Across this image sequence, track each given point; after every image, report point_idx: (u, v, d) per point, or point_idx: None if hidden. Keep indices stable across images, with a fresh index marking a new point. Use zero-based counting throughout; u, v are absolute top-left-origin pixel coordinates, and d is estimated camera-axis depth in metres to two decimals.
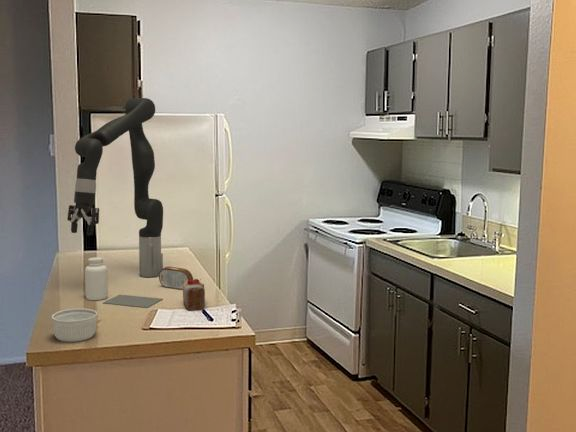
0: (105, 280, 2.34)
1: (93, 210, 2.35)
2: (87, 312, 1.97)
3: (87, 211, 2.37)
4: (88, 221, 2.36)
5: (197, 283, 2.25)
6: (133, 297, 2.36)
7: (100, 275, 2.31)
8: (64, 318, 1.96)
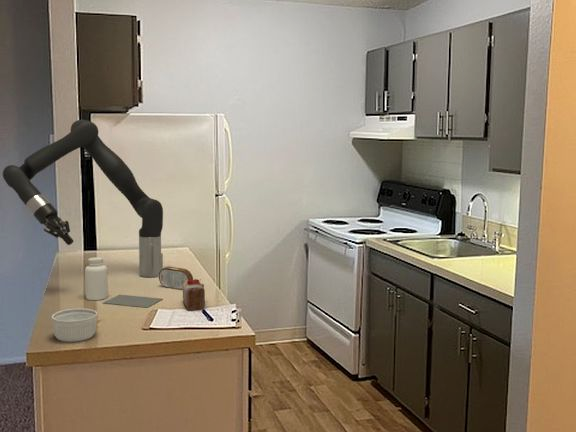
0: (105, 280, 2.34)
1: None
2: (87, 312, 1.97)
3: None
4: None
5: (197, 283, 2.25)
6: (133, 297, 2.36)
7: (100, 275, 2.31)
8: (64, 318, 1.96)
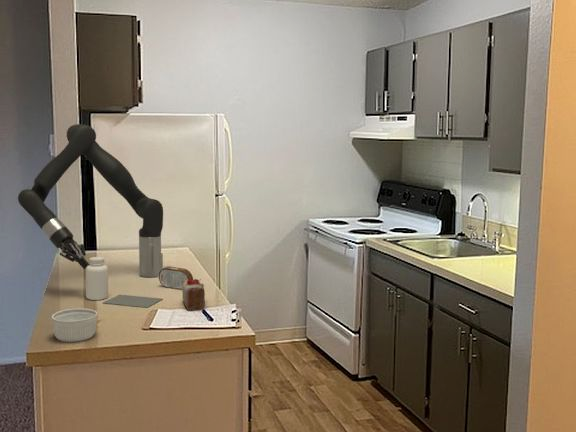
0: (106, 280, 2.33)
1: None
2: (87, 312, 1.97)
3: None
4: None
5: (197, 283, 2.25)
6: (133, 297, 2.36)
7: (101, 275, 2.31)
8: (64, 318, 1.96)
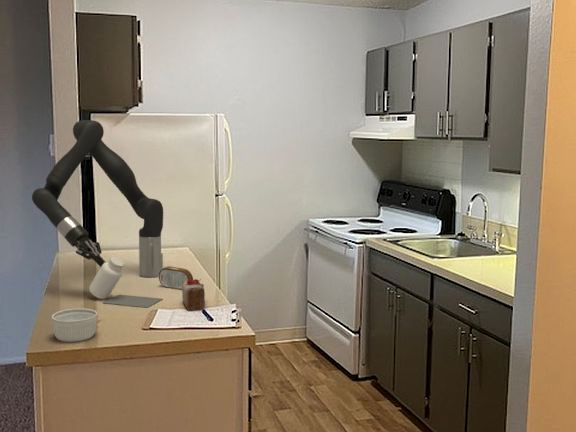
0: (114, 284, 2.33)
1: None
2: (87, 312, 1.97)
3: None
4: None
5: (197, 283, 2.25)
6: (133, 297, 2.36)
7: (113, 279, 2.30)
8: (64, 318, 1.96)
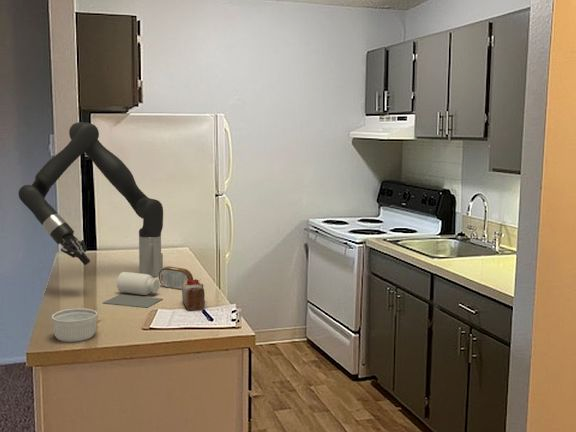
0: (135, 275, 2.40)
1: None
2: (87, 312, 1.97)
3: None
4: None
5: (197, 283, 2.25)
6: (133, 297, 2.36)
7: (143, 274, 2.41)
8: (64, 318, 1.96)
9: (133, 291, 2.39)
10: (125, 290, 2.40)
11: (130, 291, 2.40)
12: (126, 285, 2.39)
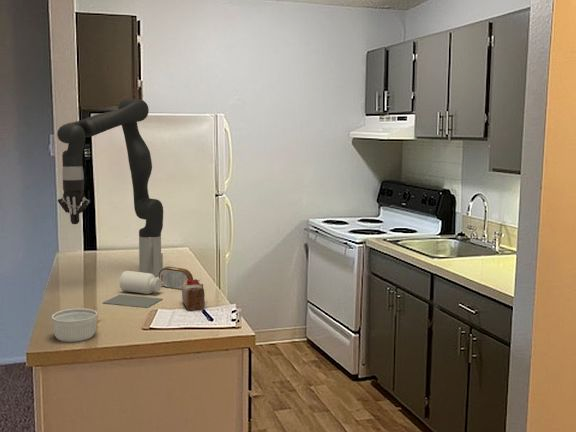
0: (140, 272, 2.43)
1: (85, 203, 2.36)
2: (87, 312, 1.97)
3: (78, 201, 2.37)
4: (74, 210, 2.38)
5: (197, 283, 2.25)
6: (133, 297, 2.36)
7: None
8: (64, 318, 1.96)
9: (135, 286, 2.40)
10: (127, 285, 2.41)
11: (132, 286, 2.41)
12: (129, 279, 2.41)
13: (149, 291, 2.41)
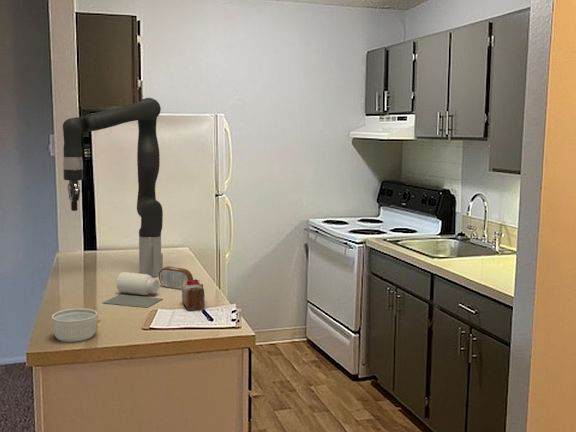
0: (134, 276, 2.40)
1: None
2: (87, 312, 1.97)
3: None
4: None
5: (196, 283, 2.25)
6: (133, 297, 2.36)
7: (143, 274, 2.41)
8: (64, 318, 1.96)
9: (133, 291, 2.39)
10: (125, 290, 2.40)
11: (130, 291, 2.40)
12: (125, 286, 2.39)
13: (148, 293, 2.40)
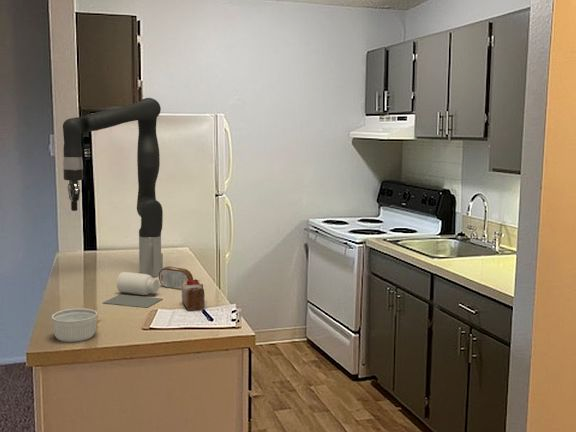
0: (135, 276, 2.40)
1: None
2: (87, 312, 1.97)
3: None
4: None
5: (196, 283, 2.25)
6: (133, 297, 2.36)
7: (143, 274, 2.41)
8: (64, 318, 1.96)
9: (133, 291, 2.39)
10: (125, 290, 2.40)
11: (130, 291, 2.40)
12: (126, 285, 2.39)
13: (148, 293, 2.40)
